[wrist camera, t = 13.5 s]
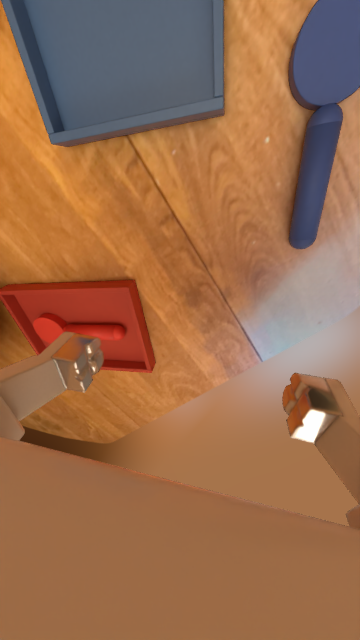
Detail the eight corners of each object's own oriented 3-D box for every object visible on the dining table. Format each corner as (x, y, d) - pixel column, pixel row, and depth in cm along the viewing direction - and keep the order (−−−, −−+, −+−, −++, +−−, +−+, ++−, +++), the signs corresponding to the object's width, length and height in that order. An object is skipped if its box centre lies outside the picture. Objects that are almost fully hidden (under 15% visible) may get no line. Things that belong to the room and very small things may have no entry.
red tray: (155, 362, 31) (151, 373, 30) (52, 357, 35) (44, 365, 34) (135, 279, 24) (128, 287, 22) (8, 284, 28) (-6, 291, 27)
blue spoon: (326, 243, 18) (336, 250, 17) (268, 247, 20) (272, 253, 18) (396, -26, 11) (425, -61, 9) (295, 3, 12) (306, -24, 10)
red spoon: (122, 312, 27) (115, 321, 25) (131, 342, 29) (126, 352, 28) (33, 312, 30) (21, 320, 28) (48, 339, 32) (39, 348, 31)
